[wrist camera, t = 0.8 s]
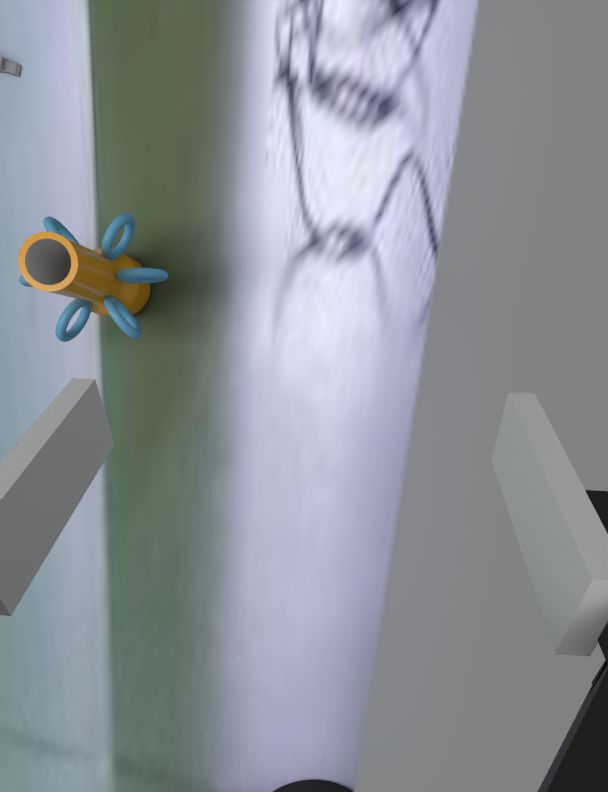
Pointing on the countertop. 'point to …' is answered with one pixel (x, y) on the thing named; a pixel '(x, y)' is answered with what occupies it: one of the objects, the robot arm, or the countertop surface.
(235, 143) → the countertop surface
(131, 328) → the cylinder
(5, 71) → the caliper
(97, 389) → the robot arm
